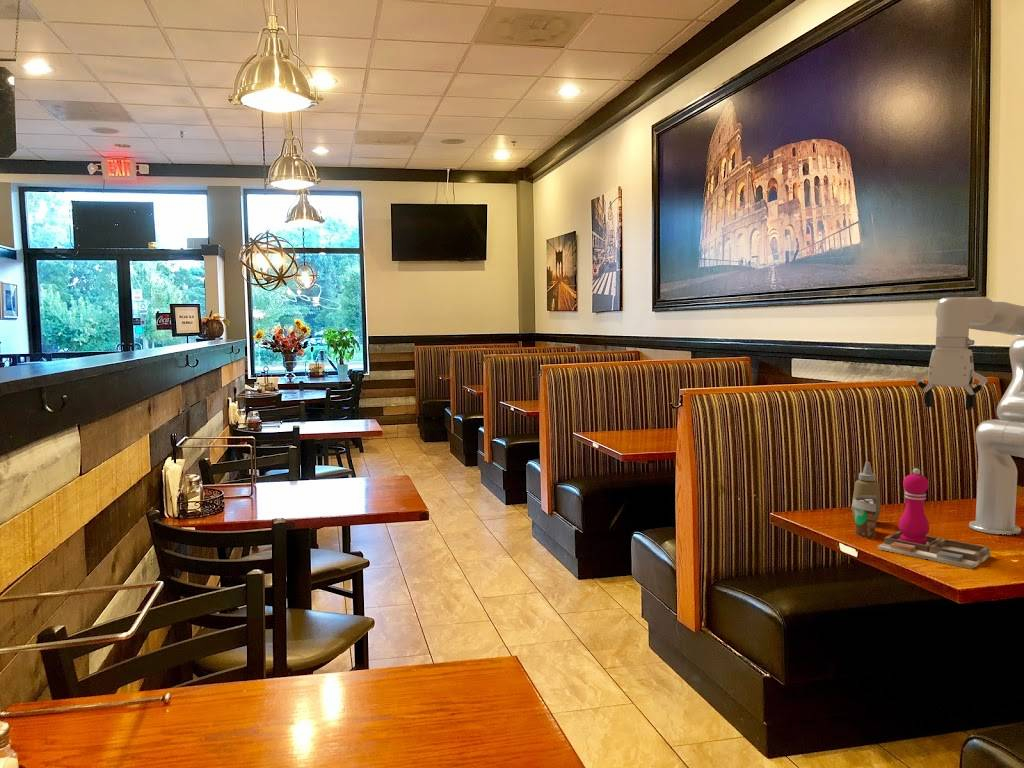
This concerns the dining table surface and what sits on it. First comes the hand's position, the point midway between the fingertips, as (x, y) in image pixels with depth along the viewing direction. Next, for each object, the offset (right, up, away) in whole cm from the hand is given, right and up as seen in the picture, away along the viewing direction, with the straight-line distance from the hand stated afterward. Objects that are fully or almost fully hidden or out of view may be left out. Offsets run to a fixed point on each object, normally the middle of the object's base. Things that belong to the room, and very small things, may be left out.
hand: (948, 408), depth 206 cm
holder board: (-8, -37, -8) cm, 39 cm away
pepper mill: (-11, -36, -3) cm, 38 cm away
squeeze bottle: (-11, -35, +24) cm, 44 cm away
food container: (-18, -36, +10) cm, 41 cm away
